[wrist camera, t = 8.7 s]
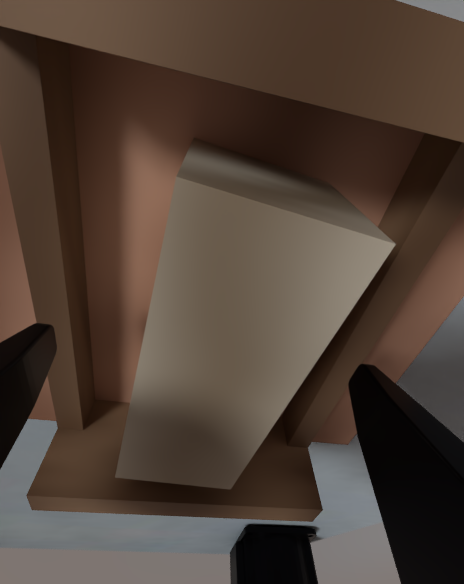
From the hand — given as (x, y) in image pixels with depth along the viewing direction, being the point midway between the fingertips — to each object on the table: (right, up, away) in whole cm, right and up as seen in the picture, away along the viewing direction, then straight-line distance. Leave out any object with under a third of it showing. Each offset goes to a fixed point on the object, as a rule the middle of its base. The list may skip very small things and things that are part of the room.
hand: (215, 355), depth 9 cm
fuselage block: (0, +1, +2) cm, 3 cm away
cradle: (0, +2, +3) cm, 4 cm away
